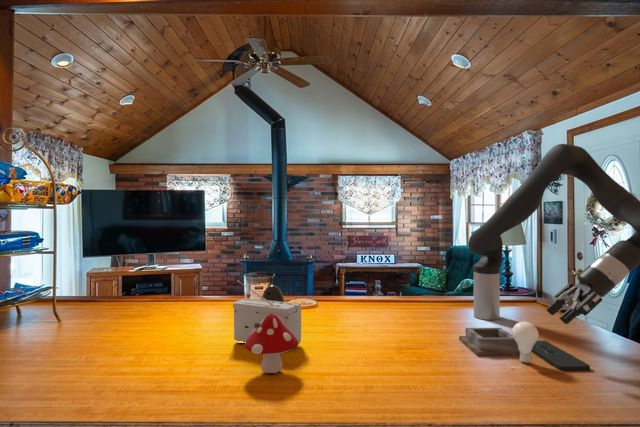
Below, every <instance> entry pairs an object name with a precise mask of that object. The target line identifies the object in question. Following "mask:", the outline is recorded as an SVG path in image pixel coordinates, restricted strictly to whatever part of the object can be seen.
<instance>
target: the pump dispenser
mask: <svg viewBox="0 0 640 427" xmlns="http://www.w3.org/2000/svg"><path fill="white" fill-rule="evenodd" d="M262 297H263V298H265V299H266V300H268V301H278V302H285V298H284V295H283V292H282V290H281V289H280V288H279V286H277V285H273V284H270V285H269V286H267V287H266V288H265V289H264V290H263V293H262ZM260 300H263V299H262V298H260Z"/></svg>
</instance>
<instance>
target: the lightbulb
mask: <svg viewBox="0 0 640 427" xmlns="http://www.w3.org/2000/svg"><path fill="white" fill-rule="evenodd" d="M539 334H540V333H539V331H538V329H537V327H536V326H535V325H534V324H532V323H531V322H529V321H519V322H517V323H515V324H514V326H513V327H512V330H511V335H513V338H514V340H515V341H516V343H517V345H518V349H519V351H520V356H519V360H520V362H522V363H524V364H528V363H530V362H532V361H531V360H532V359H531V357H532V352H531V351H532V348H533V346H534V344H535V343H536V342H537V341H539V340H538V339H539Z"/></svg>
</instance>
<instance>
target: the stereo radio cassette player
mask: <svg viewBox="0 0 640 427" xmlns="http://www.w3.org/2000/svg"><path fill="white" fill-rule="evenodd" d="M237 282H238V283H240V284H241V285H243V286H244V287H245V288H247V289H248V290H249V291H250V292H252V293H253V294H255V295H256V296H257V297H259V299H257V298H249V297H248V298H247V297H245V298H243V299H239V300H236V301H234V302H233V304H232V308H233V336H234V337H233V338H234V341H235V340H237V341H243V342H246V341H247V339H248V338H249V336H250V335H251V333H252V332H253V331H254V330H255V329H257V328H258V327H259V326H260V324H261V322H262V321H263V319H264V318H265V317H266V316H268V315H270V314H273V315H276V316H278V317H280V318H281V320H282V322H283V325H284V326H285V327H286V328H287V329H288V330H289V331H290V332H291V333H292V334H293V335H294V336H295V337H296V338H297V340H298V345H300V344H301V343H302V307H301V304H300V303H297V302H296V303H295V302H294V303H293V302H278V301H268V300H266V299H265V298H263V297H262V296H261V295H260V294H259V293H257V292H256V291H255V290H254V289H252V288H250V287H248V286H247V285H245V284H243V283H242V282H241V281H240V280H239V279H237ZM261 298H262V299H263V300H261Z"/></svg>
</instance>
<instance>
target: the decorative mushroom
mask: <svg viewBox="0 0 640 427" xmlns="http://www.w3.org/2000/svg"><path fill="white" fill-rule="evenodd" d="M243 345H244V348H245V349H246V350H247V351H248V352H250V353H252V354H254V355H263V357H262V361H261V364H260V368H261V371H262V372H263V373H264V372H265V374H267V373H275V374H278V373H279V371H280V372H281V371H282V369H283V365H284V364H283V360H282V356H281V354H284V353H287V352H290V351H292V350H294V349H295V348H297V347H298V345H299V344H298V340H297V338H296V337H295V336H294V335H293V334H292V333H291V332H290V331H289V330H288V329H287V328H286V327H285V326H284V325H283V322H282V320H281V318H280V317H278V316H276V315H273V314H270V315H268V316H266V317H265V318H264V319H263V321H262V322H261V324H260V326H259V327H258V328H257V329H255V330H254V331H253V332H252V333H251V335H250V336H249V338H248V339H247V341H246V343H245V344H243ZM277 372H278V373H277Z"/></svg>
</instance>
